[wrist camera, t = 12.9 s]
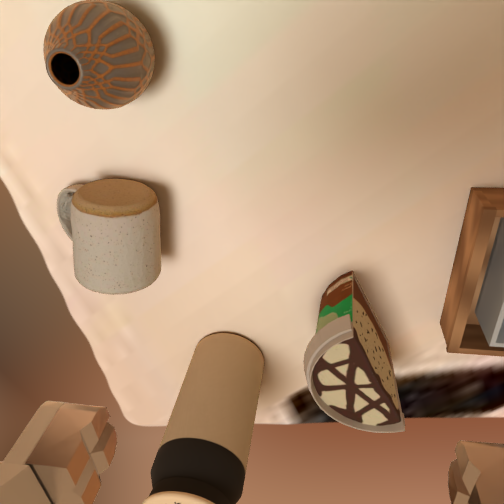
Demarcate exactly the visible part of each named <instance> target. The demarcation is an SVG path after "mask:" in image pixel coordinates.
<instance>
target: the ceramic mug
mask: <svg viewBox="0 0 504 504" xmlns="http://www.w3.org/2000/svg"><path fill="white" fill-rule="evenodd" d="M74 192H75V193H74ZM73 193H74V195H73ZM57 212H58V216H59V220H60V223H61V225H62V227H63V229H64V231H65V232H66V234H67V235H68V237H69V238H70V239H71V240H72V241H73V259H74V272H75V277H76V279H77V280H78V282H79V283H80V284H81V285H83V286H84V287H85V288H87V289H89V290H91V291H94V292H98V293H103V294H127V293H132V292H136V291H139V290H141V289H144V288H146V287H148V286H149V285H151V284H152V283H153V282H154V281H155V280H156V279H157V278H158V276H159V274H160V272H161V240H160V208H159V204H158V199H157V196H156V194H155V193H154V191H153V190H152V189H151V188H149V187H148V186H146V185H144V184H143V183H140V182H137V181H133V180H127V179H103V180H97V181H93V182H90V183H87V184H85V185H83V184H77V185H73V186H69V187H67V188H65V189H63V190H62V191H61V192H60V193H59V195H58V199H57Z"/></svg>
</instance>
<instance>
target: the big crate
mask: <svg viewBox="0 0 504 504" xmlns="http://www.w3.org/2000/svg"><path fill="white" fill-rule="evenodd" d="M501 217H504V188H471V191H470V195H469V200H468V204H467V208H466V213H465V217H464V221H463V225H462V230H461V234H460V238H459V243H458V247H457V251H456V256H455V260H454V264H453V269H452V273H451V277H450V281H449V286H448V290H447V294H446V299H445V303H444V307H443V312H442V316H441V320H440V325H441V328H442V331H443V335H444V338H445V341H446V344H447V347H446V349H447V352H449V353H463V354H477V355H491V356H504V347H494V346H489V344H488V342H487V340H486V337H485V335H484V333H483V331H482V328H481V326H480V324H479V321H478V319H477V317H476V314H475V308H476V305H477V301H478V298H479V294H480V290H481V287H482V283H483V280H484V276H485V272H486V269H487V265H488V262H489V258H490V254H491V251H492V247H493V244H494V240H495V236H496V233H497V229H498V226H499V222H500V218H501Z"/></svg>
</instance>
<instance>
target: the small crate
mask: <svg viewBox="0 0 504 504" xmlns="http://www.w3.org/2000/svg"><path fill="white" fill-rule="evenodd" d="M475 314H476V317H477V319H478V321H479V324H480V326H481V328H482V331H483V333H484V335H485V337H486V340H487V342H488V344H489V346H494V347H504V217H501V218H500V222H499V226H498V229H497V233H496V236H495V240H494V244H493V247H492V251H491V254H490V258H489V262H488V265H487V269H486V272H485V276H484V280H483V283H482V287H481V290H480V294H479V298H478V301H477V305H476V308H475Z"/></svg>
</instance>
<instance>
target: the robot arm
mask: <svg viewBox="0 0 504 504" xmlns="http://www.w3.org/2000/svg"><path fill="white" fill-rule="evenodd" d="M109 417H110V414H109V412H108V410H107V407H99V406H89V405H80V404H72V403H65V402H54V401H46V402H45V403H44V404H42V405H41V406H40V407H39V409H38V410H37V412H36V413H35V415H34V416H33V418H32V419H31V421H30V422H29V423H28V425H27V427H26V428H25V429H24V431H23V432H22V434H21V435H20V437H19V439H18V440H17V441H16V443H15V445H14V446H13V447H12V449H11V450H10V452H9V453H8V455H7V456H6V458H5V459H4V461H3V462H1V461H0V504H93V502H94V500H95V498H96V496H97V493H98V491H99V489H100V487H101V481H100V474H101V473H102V472H104V471H105V470H106V469H107V468H109V466H110V464H111V462H112V460H113V457H114V455H115V450H116V445H117V434H116V431H115V428H114V427H113V426H112V425H111V424H109V423H108V422H107V421H108V419H109ZM455 453H456V456H457V459H456V460H454V461H452V462H451V464H450V468H449V472H448V487H449V495H450V500H451V504H504V444H498V443H497V444H496V443H484V442H472V441H459V442H458V443H457V445H456V448H455Z"/></svg>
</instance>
